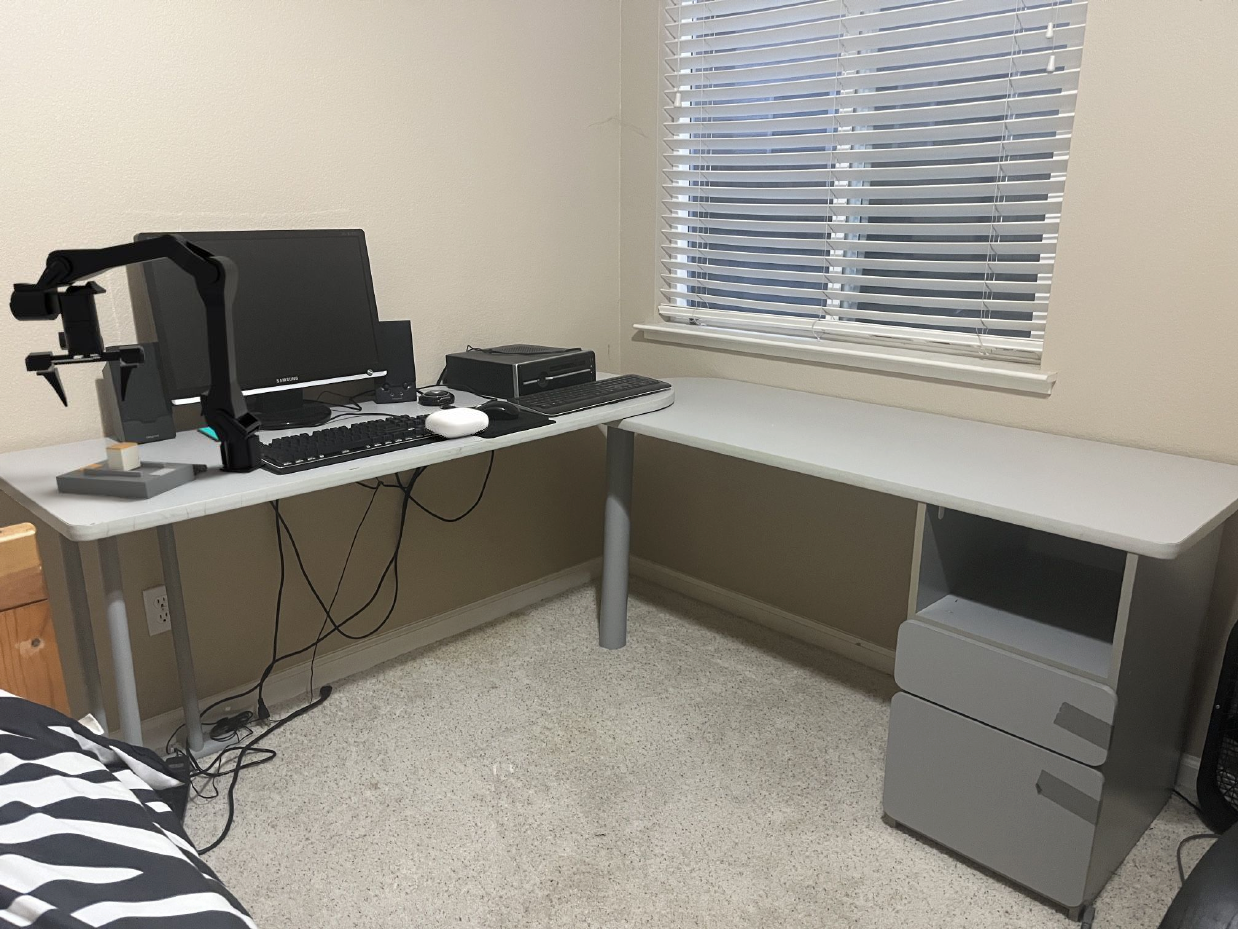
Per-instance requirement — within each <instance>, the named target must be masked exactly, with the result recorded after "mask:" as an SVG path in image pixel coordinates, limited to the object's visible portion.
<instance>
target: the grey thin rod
mask: <svg viewBox="0 0 1238 929" xmlns="http://www.w3.org/2000/svg"><path fill="white" fill-rule="evenodd" d="M191 464H192V465H193V466H196V467H197V468H198V473H199V472H202V473H205V472H208V471H207V470H208V465H207V464H205V463H204V464H203V463H191Z"/></svg>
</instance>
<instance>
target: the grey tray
mask: <svg viewBox="0 0 1238 929" xmlns="http://www.w3.org/2000/svg"><path fill="white" fill-rule="evenodd" d="M140 464H141V466H139V467H137V468H134V469H131V470H111V469H109V464H108V458H106V459H104V460H101V461H98V462H95V463H92V464H90V465H89V464H88V465H85V466H83V467H80V468H76V469H75V470H71V471H68V472H66V473H63V474H59V475H57V476H55V480H56V486H57V492H58V494H66V495H67V494H68V495H84V496H99V497H110V498H111V497H113V498H114V497H115V498H127V499H128V498H129V499H142V500H143V499H144V500H149V499H151V498H154V497H156V496H158V495H161V494H163V493H166V492H168V491H170V490H172V489H175V488H178V487H180V486H182V485H185V484H187V483H190V482H192V481H194V480H195V475H194V473H193V465H192V464H193V463H184V462H182V463H181V462H166V461H165V462H162V461H148V460H147V461H146V460H140Z"/></svg>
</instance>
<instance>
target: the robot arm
mask: <svg viewBox="0 0 1238 929" xmlns="http://www.w3.org/2000/svg"><path fill="white" fill-rule="evenodd" d="M167 258H168V259H169V260H170V261H172V262H173V263H174V264H175V265H176V266H177V267H179V268H180V269H181V270H183V271H184V272H186V273H187V274H189V275H190V276H192V277H193V279H194V283H195V288H196V291H197V293H198V296H199V298H200V301H201V302H202V304H203V306H204V309H205V310H204V312H205V324H206V337H207V351H208V363H209V376H210V377H209V378H210V386H209V387H208V388H209V389H208V390H206V391H204V392H202V393H200V394H199V403H200V405H201V406H200V407H201V412H200V415H199V416H200V417H203V419H204V422H205V424H206V426H207V427H210V428H211V429H212V430H214V432H215V434H216V436H217V438H218V440H219V441H220V442H219V443H220V444H219V452H220V459H221V464H222V466H220V467H218V471H221V472H222V471H225V472H238V473H239V472H242V473H249V472H252V471H254V470H257V469H258V468H260V467H262V466H261V461H263V457H262V451H261V450H262V449H261V442H260V434H256V433H258V432H259V431H260V429H261V425H262V421H261V420H260V419H259V418H258V417H256V416H255V415H254V414H253V413H252V412H250V411H249V409H248V407H247V404H246V400H245V396H244V393H243V391H242V389H241V387H240V384H239V383H238V380H237V368H236V367H237V366H236V365H237V364H236V363H237V362H236V351H235V335H234V322H233V321H234V320H233V319H234V318H233V303H234V300H235V297H236V294H237V290H238V283H239V282H238V280H239V269H238V266H237V264H236V263H235V262H234V261H233V260H232V259H230V258H229V257H226V256H224V255H223V256H222V255H216V254H214V253H213V252H211V251H210V250H208V249H205V248H203V247H201V246H199V245H197V244H195V243H194V242H191V241H190V240H188V239H186V238H185V237H184V236H183V235H180V234H178V233H172V234H162V235H160V236H157V237H152V238H149V239H143V240H138V241H133V242H128V243H122V244H117V245H112V246H111V245H110V246H108V247H102V248H69V249H55V250H52V251H50V252H49V253H48V256H47V257H46V259H45V267H44V270H43V272H42V274H41V275H40V277H39V278H38V280H37V282H36V283H29V282H16V283H13V284H12V285H13V286H12V287H13V291H12V293H11V295H10V298H9V299H10V301H9V302H8V303H9V304H8V305H9V309H10V313H11V314H12V316H13V317H14V318H15V319H16V320H17V321H19V322H40V321H43V322H45V321H46V322H47V321H55V320H57V319H58V317H59V315H60V317H61V322H62V323H61V324H62V328H63V331H58V332H57V335H58V342H59V348H60V349H61V351H67V354H53V351H52V350H49V351H47V350H46V351H35V352H30V353H28V354H27V356H26V357H25V358H24V364H25V368H26V369H25V370H26V372H36V373H35V374H36V376H38V377H40V376H42V377H43V378H45V380H46V381H47V382H48V383H49V385H50V386H51V387H52V389H53V390H54V392H55V393H56V394H57V397H58V398H59V399H60V401H61V403H62V404H63V405H64V408H67V407H69V406H68V405H69V404H68V399H67V394H66V392H65V388H64V385H63V382H62V379H61V377H60V373H59V369H58V366H60V365H61V366H62V365H64V366H65V365H77V364H88V363H89V364H91V363H103V362H117V361H120V364H119V366H120V367H119V372H120V373H119V374H120V378H119V379H120V380H119V382H120V397H121V402H125V401H126V400H125V399H126V395H127V390H128V389H127V388H128V385H129V384H128V383H129V379H130V377H131V373H132V371H133V369H138V368H139V364H142V363H143V364H144V363H146V357H145V350H144V347H143V346H141V345H139V344H137V345H125V346H124V345H123V346H119V349H118V350H109V351H105V350H106V348H105V343H104V338H103V336H102V333H101V327H100V326H101V325H100V322H99V315H98V310H97V304H96V299H95V295H102V294H106V293H107V290H106V289H105V288H104V287H103V286H100V285H99V284H98V283H97V281H95V280H91V279H93V278H96V277H97V276H100V275H102V274H105V273H106V272H109V271H111V270H113V269H116V268H122V267H126V266H130V265H136V264H143V263H147V262H151V261H157V260H162V259H167ZM84 281H87V282H86V283H85V284H84V285H83V284H80V285H79V284H78V285H75V284H76V283H77V282H84ZM58 288H66V289H65V290H64V291H63V290H62V291H61V290H60V291H59V289H58ZM77 357H78V358H77Z"/></svg>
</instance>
